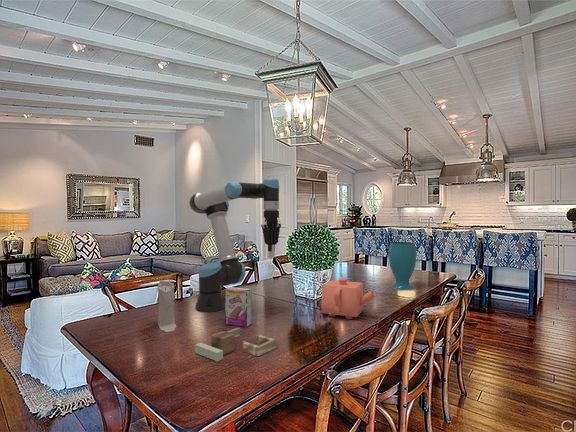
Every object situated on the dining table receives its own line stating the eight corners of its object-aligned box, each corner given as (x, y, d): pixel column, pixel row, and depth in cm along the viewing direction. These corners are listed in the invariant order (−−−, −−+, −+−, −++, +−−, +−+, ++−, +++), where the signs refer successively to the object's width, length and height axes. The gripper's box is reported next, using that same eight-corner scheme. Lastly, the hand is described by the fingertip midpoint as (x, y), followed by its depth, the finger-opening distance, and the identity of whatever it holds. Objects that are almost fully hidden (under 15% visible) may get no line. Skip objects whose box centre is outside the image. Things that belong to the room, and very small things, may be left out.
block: (211, 351, 128) (211, 335, 127) (223, 346, 132) (223, 330, 132) (222, 355, 124) (222, 338, 124) (234, 350, 129) (234, 334, 129)
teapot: (379, 312, 176) (379, 277, 175) (370, 325, 155) (370, 286, 155) (332, 306, 186) (332, 273, 186) (318, 318, 166) (318, 281, 165)
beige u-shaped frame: (217, 342, 136) (217, 335, 136) (237, 334, 144) (237, 327, 144) (258, 356, 123) (258, 348, 123) (278, 346, 131) (277, 338, 131)
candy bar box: (224, 325, 157) (224, 288, 156) (229, 321, 161) (229, 286, 161) (246, 327, 153) (246, 290, 153) (251, 324, 158) (251, 288, 157)
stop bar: (195, 352, 126) (195, 344, 126) (200, 350, 128) (200, 342, 128) (217, 361, 119) (217, 352, 119) (222, 359, 121) (222, 350, 121)
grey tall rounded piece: (161, 333, 147) (160, 285, 146) (157, 323, 159) (156, 280, 159) (178, 330, 150) (178, 284, 150) (173, 321, 162) (173, 278, 162)
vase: (420, 291, 222) (420, 244, 221) (393, 291, 222) (393, 244, 221) (410, 285, 239) (411, 241, 238) (385, 285, 239) (385, 241, 238)
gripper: (268, 210, 163) (268, 260, 163) (285, 209, 173) (285, 257, 174) (256, 210, 167) (256, 258, 168) (273, 210, 178) (274, 255, 178)
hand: (271, 257), depth 171 cm, fingers closed
